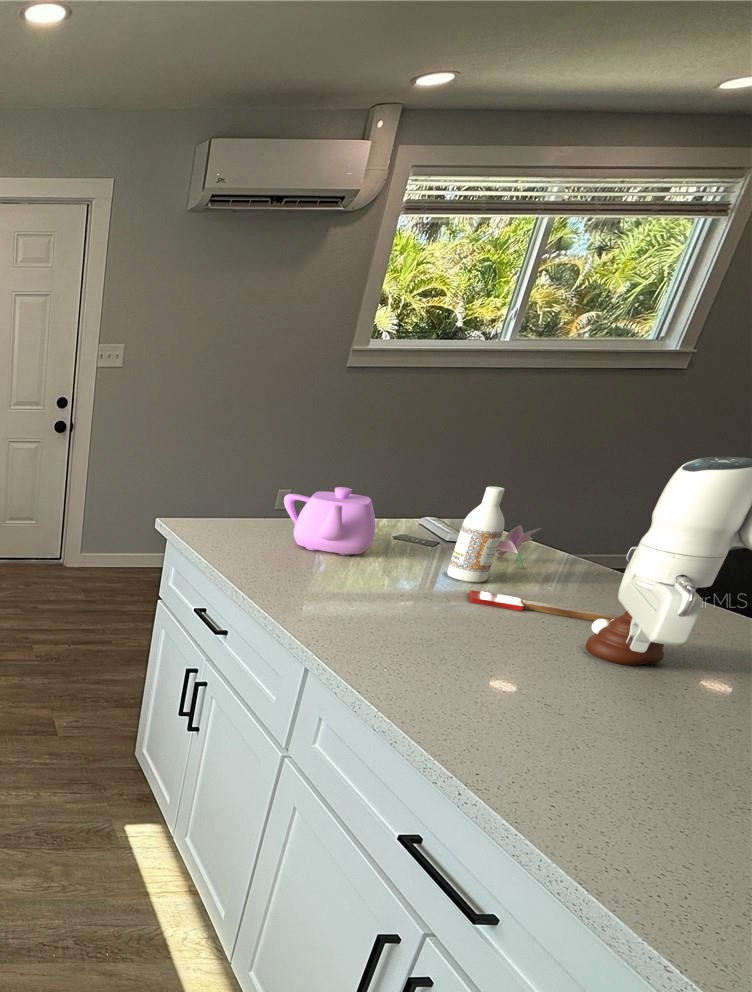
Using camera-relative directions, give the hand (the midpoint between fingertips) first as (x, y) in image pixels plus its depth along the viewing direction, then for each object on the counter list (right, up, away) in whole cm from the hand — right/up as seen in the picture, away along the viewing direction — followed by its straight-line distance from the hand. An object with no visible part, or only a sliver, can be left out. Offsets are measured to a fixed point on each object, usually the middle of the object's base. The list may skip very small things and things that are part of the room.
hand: (634, 648), depth 100 cm
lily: (+21, +16, +48) cm, 55 cm away
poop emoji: (+3, -2, +5) cm, 6 cm away
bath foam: (+5, +13, +39) cm, 41 cm away
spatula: (+6, +6, +22) cm, 24 cm away
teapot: (-14, +21, +58) cm, 63 cm away
